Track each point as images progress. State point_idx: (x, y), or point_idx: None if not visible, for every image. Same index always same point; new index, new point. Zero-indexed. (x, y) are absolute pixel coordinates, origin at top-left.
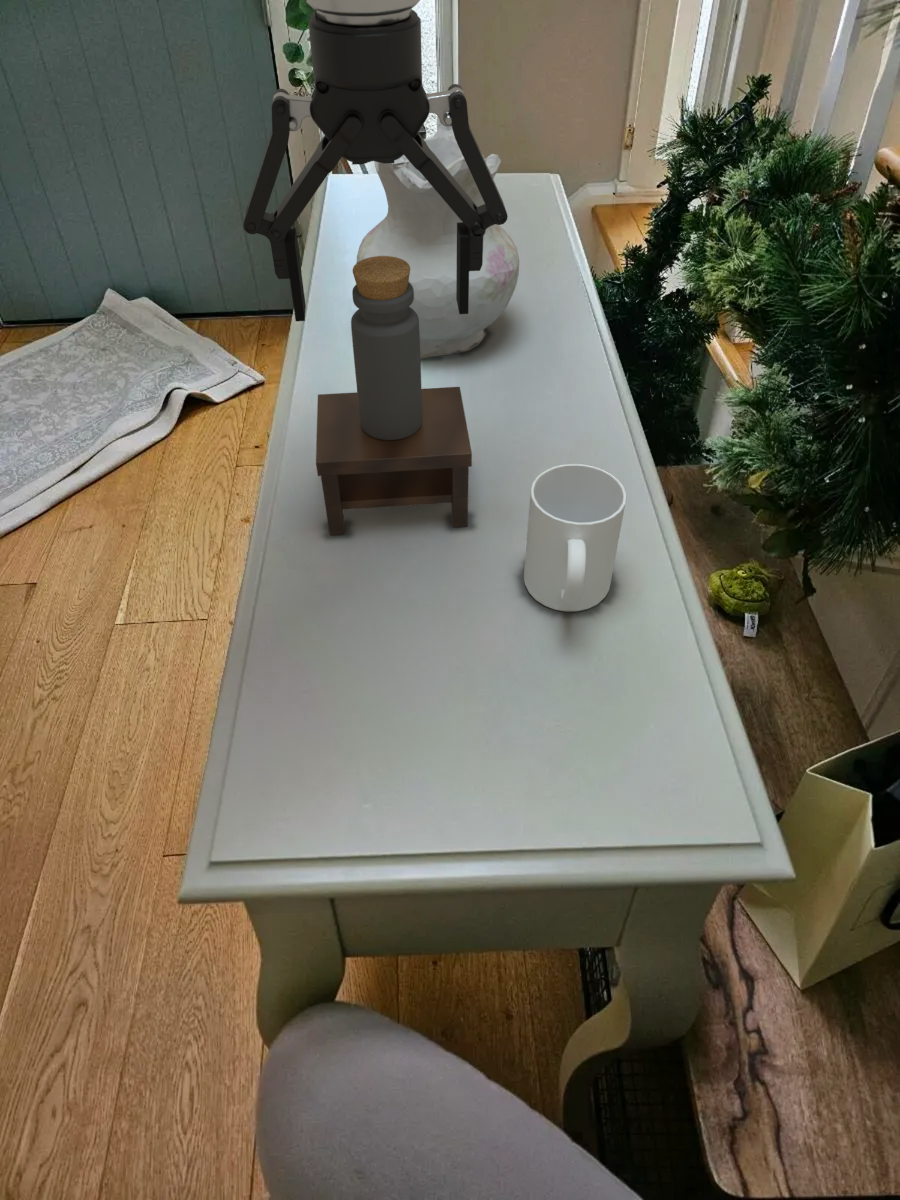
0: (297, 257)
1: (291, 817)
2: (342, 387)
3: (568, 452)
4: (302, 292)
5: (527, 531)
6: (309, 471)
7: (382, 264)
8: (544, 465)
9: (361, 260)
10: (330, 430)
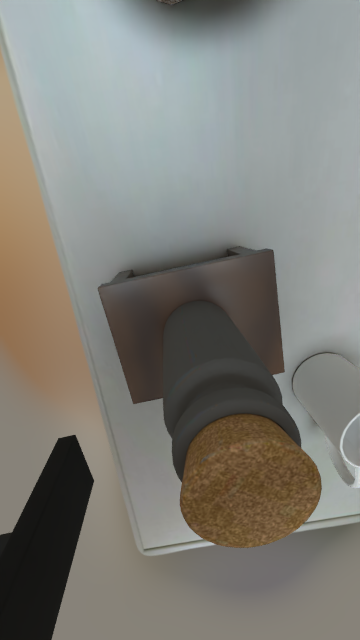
0: (44, 609)
1: (173, 530)
2: (87, 101)
3: (349, 218)
4: (73, 499)
5: (315, 409)
6: (100, 277)
7: (253, 485)
8: (322, 242)
9: (196, 475)
10: (133, 354)
